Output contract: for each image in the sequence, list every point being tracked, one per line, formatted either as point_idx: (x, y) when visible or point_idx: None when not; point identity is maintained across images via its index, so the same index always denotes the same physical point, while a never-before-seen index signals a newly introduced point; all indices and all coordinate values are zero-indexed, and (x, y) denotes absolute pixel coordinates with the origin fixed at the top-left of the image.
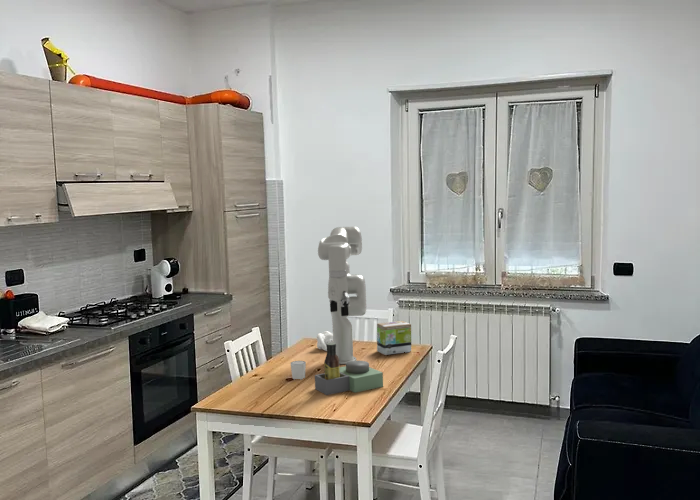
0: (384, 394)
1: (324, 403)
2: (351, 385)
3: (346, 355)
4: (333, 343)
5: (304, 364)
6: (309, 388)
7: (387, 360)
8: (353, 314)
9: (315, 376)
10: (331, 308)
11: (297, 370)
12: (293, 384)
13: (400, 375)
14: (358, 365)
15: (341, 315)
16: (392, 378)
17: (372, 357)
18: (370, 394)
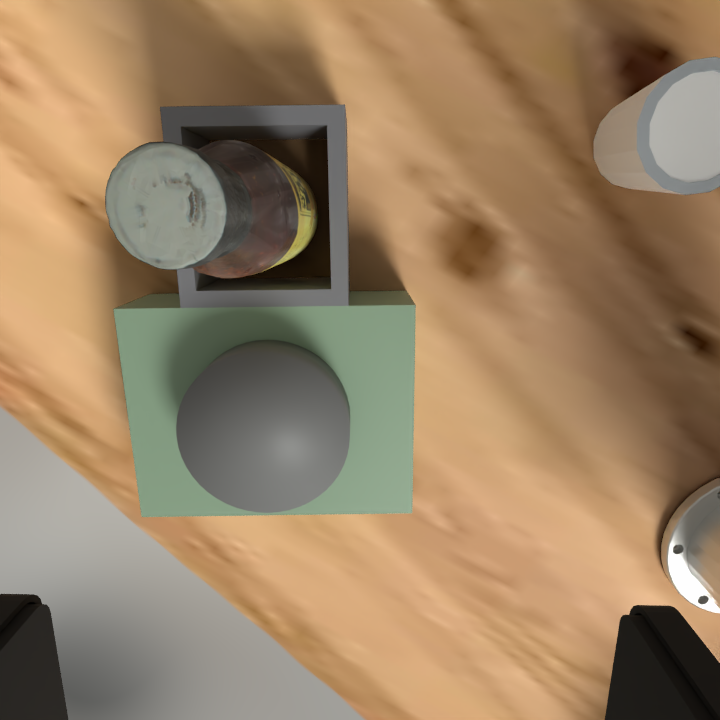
0: (44, 412)
1: (49, 31)
2: (174, 299)
3: (712, 561)
4: (151, 233)
5: (639, 164)
6: (381, 95)
7: (570, 714)
8: None
9: (332, 106)
10: (676, 698)
11: (630, 103)
12: (526, 39)
13: (295, 633)
14: (215, 420)
15: (12, 598)
16: (272, 579)
17: None
18: (79, 351)
